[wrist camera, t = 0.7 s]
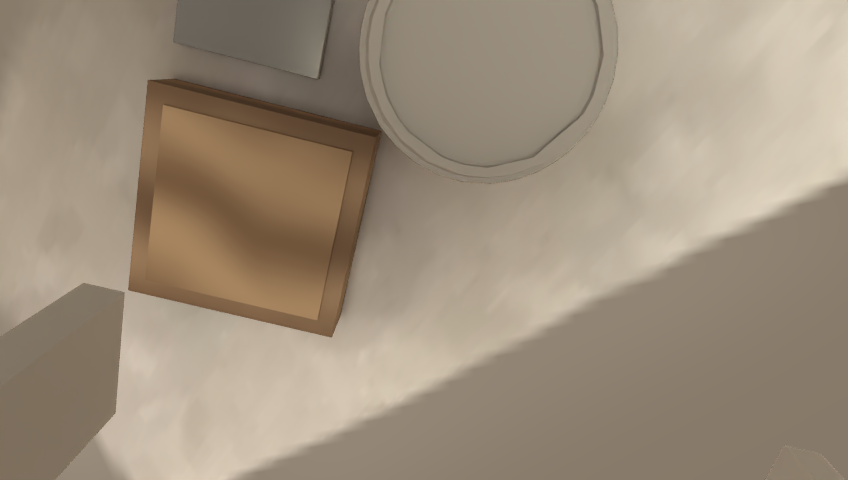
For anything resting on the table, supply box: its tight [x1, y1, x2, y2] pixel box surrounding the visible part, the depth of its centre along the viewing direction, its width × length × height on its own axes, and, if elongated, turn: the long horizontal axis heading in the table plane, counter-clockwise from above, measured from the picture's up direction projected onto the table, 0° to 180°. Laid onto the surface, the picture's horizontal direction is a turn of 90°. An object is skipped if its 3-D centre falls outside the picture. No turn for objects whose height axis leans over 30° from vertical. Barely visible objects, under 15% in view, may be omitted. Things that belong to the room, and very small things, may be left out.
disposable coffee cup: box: [359, 0, 618, 184], centre depth 25 cm, size 10×10×12 cm
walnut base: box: [128, 79, 381, 337], centre depth 32 cm, size 12×12×3 cm
